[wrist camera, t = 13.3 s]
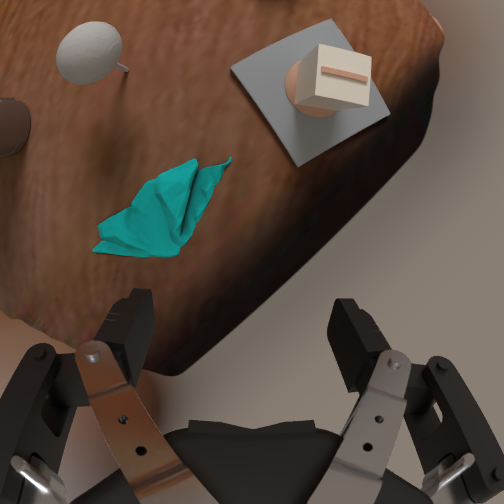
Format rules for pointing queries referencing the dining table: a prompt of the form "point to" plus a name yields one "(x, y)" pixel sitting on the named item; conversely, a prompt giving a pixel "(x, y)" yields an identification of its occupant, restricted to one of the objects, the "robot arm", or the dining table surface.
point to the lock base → (284, 87)
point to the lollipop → (89, 53)
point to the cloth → (161, 213)
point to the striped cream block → (333, 79)
